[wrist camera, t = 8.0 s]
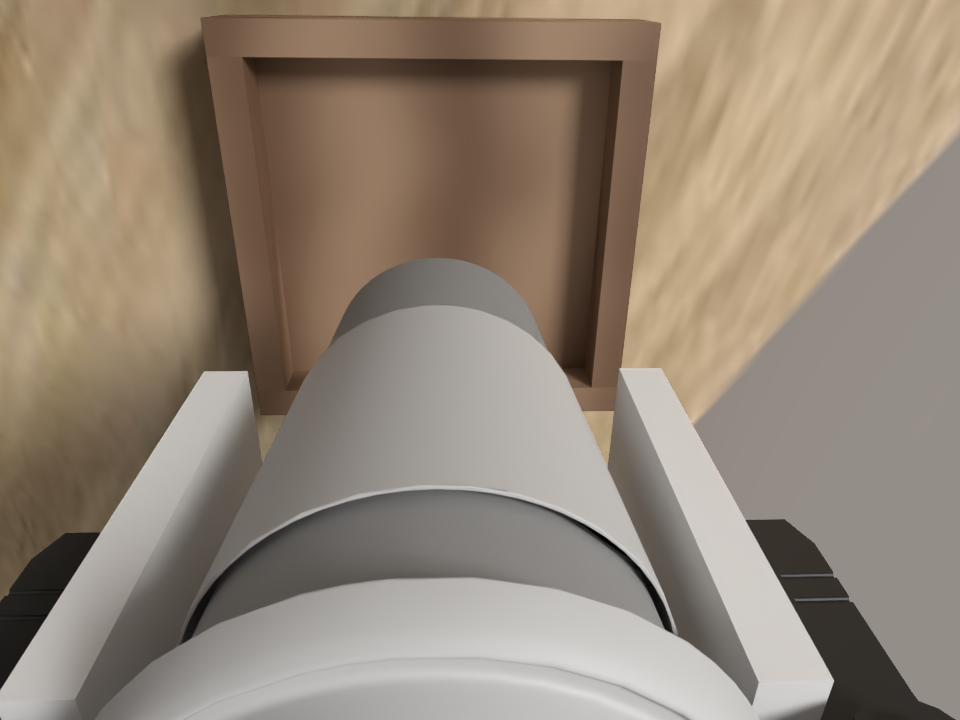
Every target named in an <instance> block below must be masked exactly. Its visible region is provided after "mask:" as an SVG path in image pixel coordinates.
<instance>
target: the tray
mask: <svg viewBox="0 0 960 720" xmlns="http://www.w3.org/2000/svg"><path fill="white" fill-rule="evenodd" d="M201 25H202V31H203V38H204V44H205V51H206V57H207V64H208V71H209V77H210V84H211V90H212V97H213V104H214V110H215V117H216V123H217V130H218V137H219V143H220V150H221V156H222V163H223V169H224V176H225V183H226V189H227V196H228V202H229V209H230V216H231V222H232V229H233V235H234V242H235V248H236V255H237V262H238V268H239V275H240V281H241V288H242V295H243V301H244V308H245V314H246V321H247V327H248V334H249V341H250V347H251V354H252V360H253V367H254V374H255V380H256V387H257V393H258V400H259V406H260V413H261V415H287V413H288V411H289V409H290V407H291V405H292V403H293V401H294V399H295V397H296V395H297V393H298V391H299V389H300V387H301V385H302V383H303V381H304V379H305V378H306V376H307V375H308V373H309V372H310V370H311V369H312V367H313V366H314V364H315V363H316V361H317V360H318V358H319V357H320V356H321V355H322V354H323V353H324V352H325V351H326V350H327V349H328V347H329V345H330V343H331V341H332V338H333V336H334V334H335V332H336V330H337V328H338V326H339V324H340V321H341V319H342V317H343V315H344V313H345V311H346V309H347V307H348V306H349V304H350V302H351V301H352V299H353V298H354V297H355V295H356V294H357V293H358V292H359V291H360V290H361V289H362V288H363V287H364V286H365V285H366V284H367V283H368V282H369V281H370V280H372V279H373V278H375V277H376V276H378V275H379V274H381V273H382V272H384V271H386V270H388V269H390V268H392V267H395V266H397V265H400V264H403V263H405V262H409V261H414V260H419V259H426V258H450V259H456V260H462V261H466V262H470V263H473V264H476V265H478V266H481V267H483V268H485V269H488V270H490V271H491V272H493V273H495V274H496V275H498V276H499V277H501V278H502V279H504V280H505V281H506V282H507V283H509V284H510V285H511V286H512V287H513V288H514V289H515V290H516V291H517V292H518V293H519V294H520V296H521V297H522V298H523V300H524V301H525V302H526V304H527V306H528V307H529V309H530V311H531V313H532V315H533V317H534V320H535V322H536V324H537V327H538V329H539V332H540V334H541V336H542V339H543V341H544V343H545V346H546V348H547V350H548V351H549V352H550V353H551V355H552V356H553V357H554V359H555V360H556V362H557V363H558V365H559V366H560V368H561V369H562V370H563V372H564V373H565V375H566V376H567V379H568V381H569V383H570V385H571V388H572V390H573V392H574V394H575V397H576V399H577V401H578V403H579V405H580V408H581V410H582V411H614V409H615V401H616V392H617V383H618V375H619V368H621V364H622V356H623V347H624V339H625V330H626V321H627V313H628V304H629V296H630V287H631V278H632V270H633V261H634V253H635V244H636V236H637V227H638V218H639V210H640V201H641V193H642V184H643V176H644V167H645V158H646V150H647V141H648V133H649V124H650V116H651V107H652V98H653V90H654V81H655V73H656V64H657V55H658V47H659V38H660V30H661V23H657V22H651V21H645V20H626V19H541V18H455V17H369V16H284V15H219V16H211V17H203V18H201Z"/></svg>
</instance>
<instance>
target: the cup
mask: <svg viewBox="0 0 960 720" xmlns="http://www.w3.org/2000/svg"><path fill="white" fill-rule="evenodd" d="M95 720H760V719H759V717H758V715H757V714H756V712H755V710H754V708H753V707H752V706H751V704H750V703H749V701H748V700H747V698H746V697H745V696H744V694H743V693H742V692H741V690H740V689H739V688H738V686H737V685H736V683H735V682H734V681H733V680H732V679H731V678H730V677H729V676H728V675H727V674H726V673H725V672H724V671H723V670H722V669H721V668H720V667H719V666H718V665H717V664H716V663H715V662H713V661H712V660H711V659H710V658H708V657H707V656H706V655H704V654H703V653H702V652H700V651H699V650H698V649H696V648H695V647H694V646H693V645H691V644H690V643H689V642H687V641H685V640H683V639H682V638H680V637H678V631H677V629H676V626H675V623H674V620H673V617H672V615H671V612H670V609H669V606H668V604H667V601H666V598H665V595H664V593H663V591H662V588H661V586H660V584H659V582H658V579H657V577H656V575H655V573H654V570H653V568H652V566H651V564H650V562H649V559H648V557H647V555H646V553H645V550H644V548H643V546H642V544H641V541H640V539H639V537H638V535H637V533H636V530H635V528H634V526H633V524H632V521H631V519H630V517H629V515H628V512H627V510H626V508H625V506H624V504H623V501H622V499H621V497H620V495H619V492H618V490H617V488H616V486H615V483H614V481H613V479H612V477H611V475H610V472H609V470H608V468H607V466H606V463H605V461H604V459H603V457H602V454H601V452H600V450H599V448H598V446H597V443H596V441H595V439H594V437H593V434H592V432H591V430H590V428H589V426H588V423H587V421H586V419H585V417H584V414H583V412H582V410H581V408H580V405H579V403H578V401H577V399H576V397H575V394H574V392H573V390H572V388H571V385H570V383H569V381H568V379H567V376H566V375H565V373H564V372H563V370H562V369H561V368H560V366H559V365H558V363H557V362H556V360H555V359H554V357H553V356H552V355H551V353H550V352H549V351H548V350H547V348H546V346H545V343H544V341H543V339H542V336H541V334H540V332H539V329H538V327H537V324H536V322H535V320H534V317H533V315H532V313H531V311H530V309H529V307H528V306H527V304H526V302H525V301H524V300H523V298H522V297H521V296H520V294H519V293H518V292H517V291H516V290H515V289H514V288H513V287H512V286H511V285H510V284H509V283H507V282H506V281H505V280H504V279H502V278H501V277H499V276H498V275H496V274H495V273H493V272H491V271H490V270H488V269H485V268H483V267H481V266H478V265H476V264H473V263H470V262H466V261H462V260H456V259H450V258H426V259H419V260H414V261H409V262H405V263H403V264H400V265H397V266H395V267H392V268H390V269H388V270H386V271H384V272H382V273H381V274H379V275H378V276H376V277H375V278H373V279H372V280H370V281H369V282H368V283H367V284H366V285H365V286H364V287H363V288H362V289H361V290H360V291H359V292H358V293H357V294H356V295H355V297H354V298H353V299H352V301H351V302H350V304H349V306H348V307H347V309H346V311H345V313H344V315H343V317H342V319H341V321H340V324H339V326H338V328H337V330H336V332H335V334H334V336H333V338H332V341H331V343H330V345H329V347H328V349H327V350H326V351H325V352H324V353H323V354H322V355H321V356H320V357H319V358H318V360H317V361H316V363H315V364H314V366H313V367H312V369H311V370H310V372H309V373H308V375H307V376H306V378H305V379H304V381H303V383H302V385H301V387H300V389H299V391H298V393H297V395H296V397H295V399H294V401H293V403H292V405H291V407H290V409H289V411H288V413H287V415H286V417H285V419H284V421H283V423H282V425H281V427H280V429H279V431H278V433H277V435H276V437H275V439H274V441H273V443H272V445H271V447H270V449H269V451H268V453H267V455H266V457H265V459H264V461H263V463H262V465H261V467H260V469H259V471H258V473H257V475H256V477H255V479H254V481H253V483H252V485H251V487H250V489H249V491H248V493H247V495H246V497H245V499H244V501H243V503H242V505H241V507H240V509H239V511H238V513H237V515H236V517H235V519H234V521H233V523H232V525H231V527H230V529H229V531H228V533H227V535H226V537H225V539H224V541H223V543H222V545H221V547H220V549H219V551H218V553H217V555H216V557H215V559H214V561H213V563H212V565H211V567H210V569H209V571H208V573H207V575H206V577H205V579H204V581H203V583H202V585H201V587H200V589H199V591H198V593H197V595H196V597H195V599H194V601H193V603H192V605H191V607H190V609H189V612H188V615H187V617H186V620H185V623H184V626H183V628H182V631H181V634H180V636H179V639H178V642H177V645H176V648H175V649H173V650H171V651H170V652H168V653H166V654H165V655H163V656H161V657H159V658H158V659H156V660H154V661H153V662H151V663H150V664H149V665H148V666H147V667H146V668H145V669H144V670H142V671H141V672H140V673H139V674H138V675H137V676H136V677H135V678H133V679H132V680H131V681H130V682H129V683H128V684H127V685H126V686H124V687H123V688H122V689H121V690H120V691H119V692H118V693H117V694H116V695H115V696H114V697H113V698H112V699H111V700H110V701H109V702H108V703H107V704H106V705H105V706H104V707H103V708H102V710H101V711H100V712H99V714H98V715H97V717H96V718H95Z"/></svg>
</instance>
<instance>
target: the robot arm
mask: <svg viewBox="0 0 960 720" xmlns="http://www.w3.org/2000/svg"><path fill="white" fill-rule="evenodd" d="M261 465H262V459H261V453H260V447H259V440H258V434H257V428H256V421H255V415H254V408H253V402H252V396H251V389H250V383H249V376H248V371H204V372H203V374H202V375H201V377H200V379H199V380H198V382H197V383H196V385H195V386H194V388H193V390H192V391H191V393H190V394H189V396H188V397H187V399H186V400H185V402H184V404H183V405H182V407H181V408H180V410H179V411H178V413H177V415H176V416H175V418H174V419H173V421H172V422H171V424H170V426H169V427H168V429H167V430H166V432H165V433H164V435H163V436H162V438H161V440H160V441H159V443H158V444H157V446H156V447H155V449H154V451H153V452H152V454H151V455H150V457H149V458H148V460H147V461H146V463H145V465H144V466H143V468H142V469H141V471H140V472H139V474H138V476H137V477H136V479H135V480H134V482H133V483H132V485H131V487H130V488H129V490H128V491H127V493H126V494H125V496H124V497H123V499H122V501H121V502H120V504H119V505H118V507H117V508H116V510H115V512H114V513H113V515H112V516H111V518H110V519H109V521H108V523H107V524H106V526H105V527H104V529H103V530H102V532H101V533H65V534H64V535H62V536H61V537H60V538H59V539H57V540H56V541H55V542H53V543H52V544H51V545H50V546H48V547H47V548H46V549H44V550H43V551H42V552H40V553H39V554H38V555H37V556H35V557H34V558H33V559H31V561H30V562H29V564H28V565H27V566H26V568H25V569H24V570H23V572H22V573H21V575H20V576H19V577H18V579H17V580H16V581H15V583H14V584H13V585H12V587H11V588H10V590H9V595H8V596H4V598H3V599H2V601H1V602H0V720H95V718H96V717H97V715H98V714H99V712H100V711H101V710H102V708H103V707H104V706H105V705H106V704H107V703H108V702H109V701H110V700H111V699H112V698H113V697H114V696H115V695H116V694H117V693H118V692H119V691H120V690H121V689H122V688H123V687H124V686H126V685H127V684H128V683H129V682H130V681H131V680H132V679H133V678H135V677H136V676H137V675H138V674H139V673H140V672H141V671H142V670H144V669H145V668H146V667H147V666H148V665H149V664H150V663H151V662H153V661H154V660H156V659H158V658H159V657H161V656H163V655H165V654H166V653H168V652H170V651H171V650H173V649H175V648H176V645H177V642H178V639H179V636H180V634H181V631H182V628H183V626H184V623H185V620H186V617H187V615H188V612H189V609H190V607H191V605H192V603H193V601H194V599H195V597H196V595H197V593H198V591H199V589H200V587H201V585H202V583H203V581H204V579H205V577H206V575H207V573H208V571H209V569H210V567H211V565H212V563H213V561H214V559H215V557H216V555H217V553H218V551H219V549H220V547H221V545H222V543H223V541H224V539H225V537H226V535H227V533H228V531H229V529H230V527H231V525H232V523H233V521H234V519H235V517H236V515H237V513H238V511H239V509H240V507H241V505H242V503H243V501H244V499H245V497H246V495H247V493H248V491H249V489H250V487H251V485H252V483H253V481H254V479H255V477H256V475H257V473H258V471H259V469H260V467H261ZM608 470H609V472H610V475H611V477H612V479H613V481H614V483H615V486H616V488H617V490H618V492H619V495H620V497H621V499H622V501H623V504H624V506H625V508H626V510H627V512H628V515H629V517H630V519H631V521H632V524H633V526H634V528H635V530H636V533H637V535H638V537H639V539H640V541H641V544H642V546H643V548H644V550H645V553H646V555H647V557H648V559H649V562H650V564H651V566H652V568H653V570H654V573H655V575H656V577H657V579H658V582H659V584H660V586H661V588H662V591H663V593H664V595H665V598H666V601H667V604H668V606H669V609H670V612H671V615H672V617H673V620H674V623H675V626H676V629H677V631H678V637H680V638H682V639H683V640H685V641H687V642H689V643H690V644H691V645H693V646H694V647H695V648H696V649H698V650H699V651H700V652H702V653H703V654H704V655H706V656H707V657H708V658H710V659H711V660H712V661H713V662H715V663H716V664H717V665H718V666H719V667H720V668H721V669H722V670H723V671H724V672H725V673H726V674H727V675H728V676H729V677H730V678H731V679H732V680H733V681H734V682H735V683H736V685H737V686H738V688H739V689H740V690H741V692H742V693H743V694H744V696H745V697H746V698H747V700H748V701H749V703H750V704H751V706H752V707H753V708H754V710H755V712H756V714H757V715H758V717H759V719H760V720H955V719H953V718H952V717H950V716H949V715H947V714H946V713H944V712H943V711H941V710H940V709H938V708H935V707H933V706H930V705H927V704H925V703H922V702H919V701H918V700H917V698H916V697H915V696H914V694H913V693H912V692H911V690H910V689H909V687H908V686H907V684H906V682H905V681H904V679H903V678H902V676H901V675H900V673H899V672H898V670H897V669H896V667H895V666H894V664H893V663H892V661H891V660H890V658H889V657H888V655H887V654H886V652H885V650H884V649H883V647H882V646H881V645H880V643H879V641H878V640H877V638H876V637H875V635H874V634H873V632H872V631H871V629H870V628H869V626H868V625H867V623H866V621H865V620H864V618H863V617H862V615H861V614H860V612H859V611H858V609H857V608H856V606H855V605H854V603H853V602H850V601H849V596H848V594H847V592H846V591H845V589H844V588H843V586H842V585H841V584H840V582H839V580H838V579H837V578H834V577H833V571H832V570H831V568H830V567H829V565H828V563H827V562H826V560H825V559H824V557H823V556H822V554H821V553H820V551H819V550H818V548H817V547H816V545H815V544H814V543H813V542H812V541H811V540H809V539H808V538H807V537H806V536H804V535H803V534H802V533H801V532H799V531H798V530H797V529H796V528H795V527H793V526H792V525H791V524H790V523H788V522H787V521H786V520H784V519H783V520H745V519H744V517H743V515H742V513H741V512H740V510H739V508H738V506H737V504H736V503H735V501H734V499H733V497H732V496H731V494H730V492H729V490H728V488H727V486H726V485H725V483H724V481H723V479H722V477H721V476H720V474H719V472H718V470H717V468H716V467H715V465H714V463H713V461H712V459H711V458H710V456H709V454H708V452H707V450H706V449H705V447H704V445H703V443H702V442H701V440H700V438H699V436H698V434H697V432H696V430H695V429H694V427H693V425H692V423H691V421H690V420H689V418H688V416H687V414H686V412H685V411H684V409H683V407H682V405H681V403H680V402H679V400H678V398H677V396H676V394H675V393H674V391H673V389H672V387H671V385H670V384H669V382H668V380H667V378H666V376H665V375H664V373H663V371H662V369H661V368H619V375H618V383H617V392H616V401H615V409H614V418H613V427H612V435H611V444H610V453H609V461H608Z"/></svg>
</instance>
